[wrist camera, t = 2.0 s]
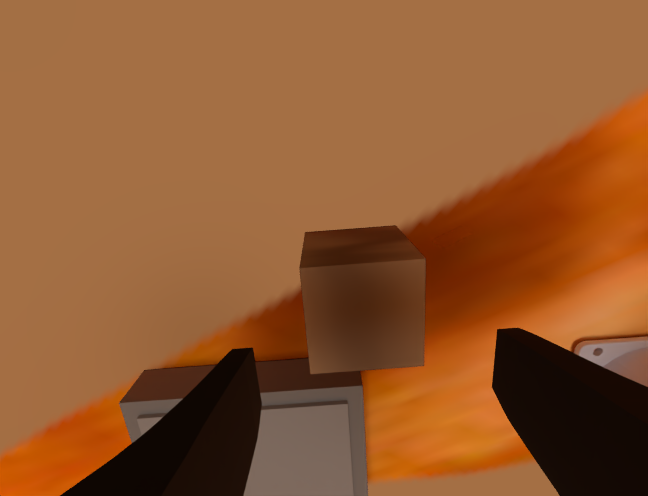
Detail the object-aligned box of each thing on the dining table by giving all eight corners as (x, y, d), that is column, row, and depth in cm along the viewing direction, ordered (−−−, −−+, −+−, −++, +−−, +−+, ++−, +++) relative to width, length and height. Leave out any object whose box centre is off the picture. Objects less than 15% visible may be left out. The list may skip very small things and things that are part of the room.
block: (395, 225, 17) (426, 258, 12) (396, 306, 18) (424, 365, 13) (305, 232, 17) (299, 268, 12) (312, 312, 18) (310, 374, 13)
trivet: (357, 354, 19) (363, 389, 16) (365, 508, 22) (371, 556, 20) (144, 370, 19) (116, 406, 16) (186, 520, 23) (169, 570, 20)
